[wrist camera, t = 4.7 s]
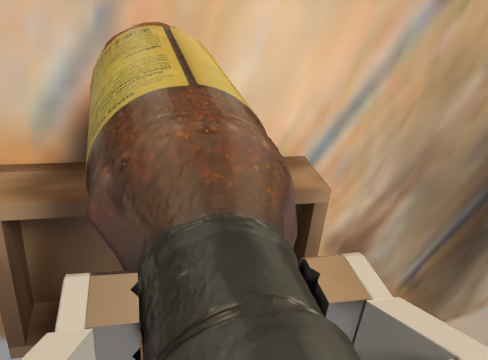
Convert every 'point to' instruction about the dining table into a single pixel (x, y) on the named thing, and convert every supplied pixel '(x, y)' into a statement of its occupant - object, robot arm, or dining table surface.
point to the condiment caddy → (86, 239)
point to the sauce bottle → (198, 207)
